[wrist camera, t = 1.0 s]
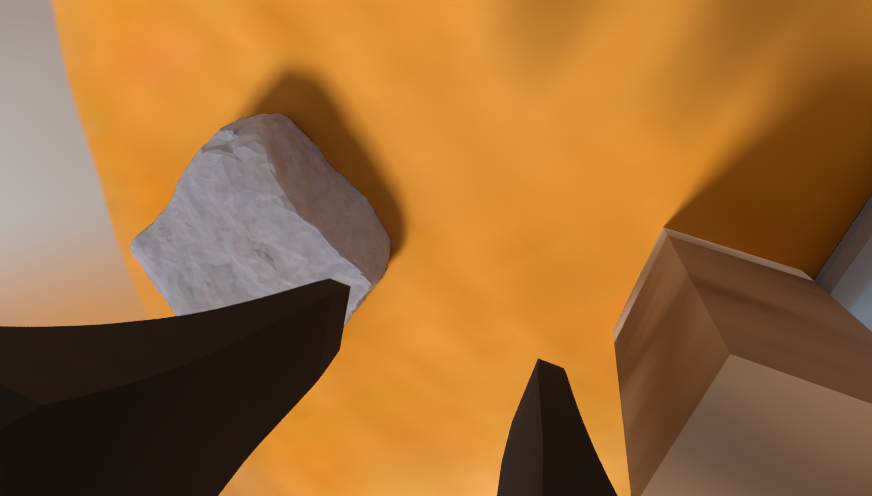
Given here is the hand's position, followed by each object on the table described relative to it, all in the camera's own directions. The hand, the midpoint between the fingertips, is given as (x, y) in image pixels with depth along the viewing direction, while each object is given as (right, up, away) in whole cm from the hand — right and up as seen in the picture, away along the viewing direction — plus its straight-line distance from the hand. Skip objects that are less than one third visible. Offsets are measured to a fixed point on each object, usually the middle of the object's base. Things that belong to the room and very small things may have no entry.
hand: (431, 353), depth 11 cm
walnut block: (+11, 0, +7) cm, 13 cm away
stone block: (-8, +3, +13) cm, 15 cm away
